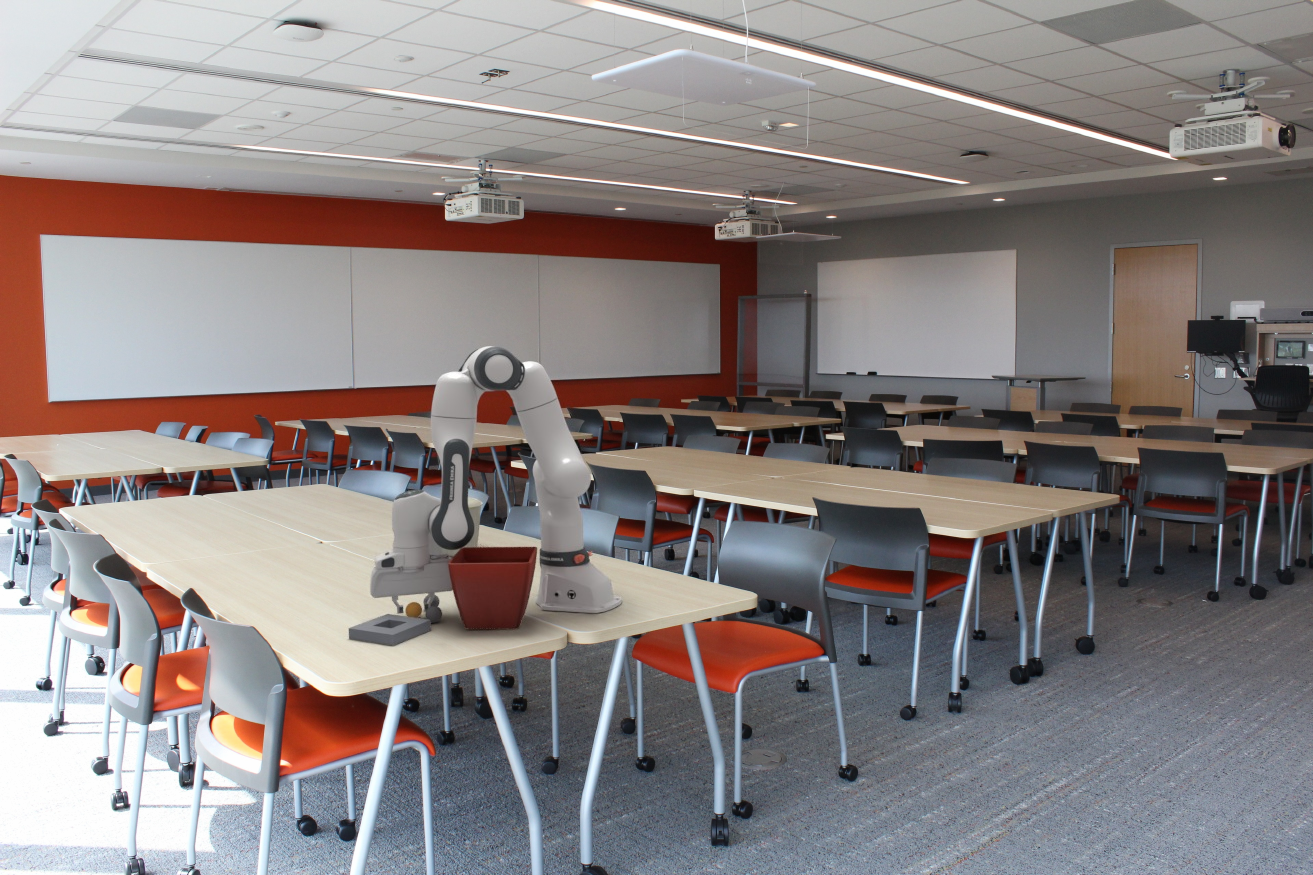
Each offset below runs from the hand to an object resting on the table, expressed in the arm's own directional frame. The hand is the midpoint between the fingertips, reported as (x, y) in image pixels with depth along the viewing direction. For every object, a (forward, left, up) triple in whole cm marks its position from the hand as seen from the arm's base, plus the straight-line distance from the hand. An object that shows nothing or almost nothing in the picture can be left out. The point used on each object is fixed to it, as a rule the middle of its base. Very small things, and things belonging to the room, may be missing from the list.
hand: (413, 611), depth 232 cm
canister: (+38, -66, -2) cm, 76 cm away
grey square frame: (-4, +13, -2) cm, 14 cm away
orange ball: (0, 0, 0) cm, 0 cm away
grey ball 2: (-7, +1, 0) cm, 7 cm away
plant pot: (-21, -5, -2) cm, 22 cm away
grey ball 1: (+1, -8, 0) cm, 8 cm away
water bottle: (+17, -28, -2) cm, 33 cm away
